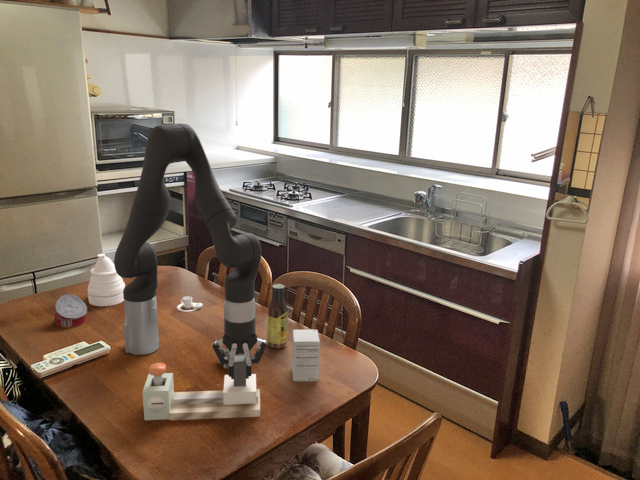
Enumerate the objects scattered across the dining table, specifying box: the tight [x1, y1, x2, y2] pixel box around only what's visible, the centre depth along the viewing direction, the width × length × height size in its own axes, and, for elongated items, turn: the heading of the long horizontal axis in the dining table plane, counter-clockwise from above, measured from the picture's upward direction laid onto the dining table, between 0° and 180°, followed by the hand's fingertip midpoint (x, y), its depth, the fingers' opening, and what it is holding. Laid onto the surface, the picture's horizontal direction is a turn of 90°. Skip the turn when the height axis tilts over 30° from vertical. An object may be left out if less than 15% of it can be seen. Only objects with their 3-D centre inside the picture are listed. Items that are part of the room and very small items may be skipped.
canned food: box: [54, 293, 89, 329], centre depth 174 cm, size 11×10×10 cm
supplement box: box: [291, 329, 321, 382], centre depth 147 cm, size 7×7×13 cm
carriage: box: [222, 355, 257, 405], centre depth 131 cm, size 8×8×12 cm
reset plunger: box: [148, 362, 167, 386], centre depth 128 cm, size 4×4×6 cm
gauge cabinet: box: [142, 372, 175, 421], centre depth 129 cm, size 6×9×8 cm
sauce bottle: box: [266, 283, 289, 350], centre depth 162 cm, size 7×6×20 cm
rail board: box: [168, 388, 261, 421], centre depth 132 cm, size 22×9×4 cm, turn 97°
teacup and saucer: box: [176, 295, 203, 313], centre depth 189 cm, size 9×8×4 cm
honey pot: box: [87, 253, 126, 307], centre depth 190 cm, size 13×13×18 cm
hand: (240, 376), depth 131 cm, fingers closed on carriage, 3 cm apart
